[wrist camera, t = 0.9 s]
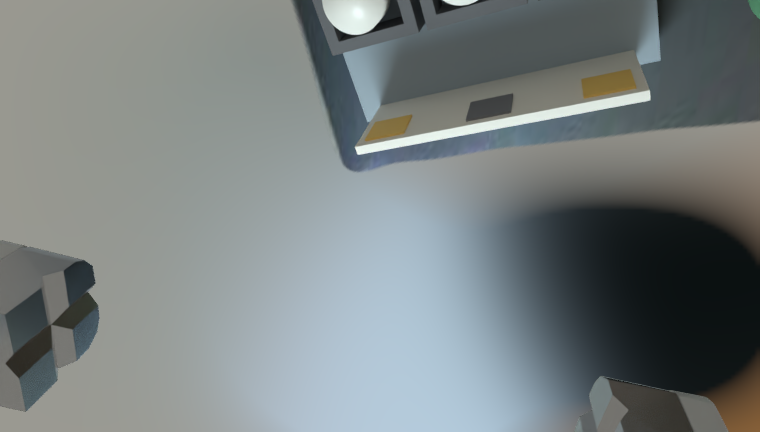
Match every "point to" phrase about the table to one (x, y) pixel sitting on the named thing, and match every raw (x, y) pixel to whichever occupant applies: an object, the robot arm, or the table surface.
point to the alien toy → (755, 7)
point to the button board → (485, 42)
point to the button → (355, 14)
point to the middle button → (460, 2)
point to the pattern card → (508, 102)
